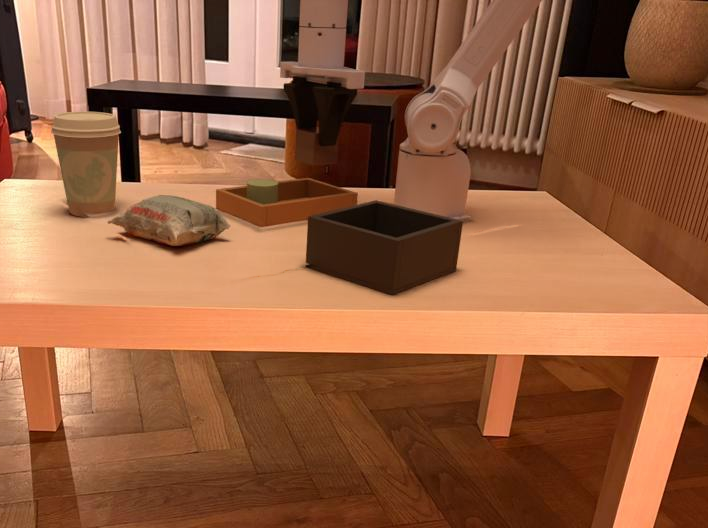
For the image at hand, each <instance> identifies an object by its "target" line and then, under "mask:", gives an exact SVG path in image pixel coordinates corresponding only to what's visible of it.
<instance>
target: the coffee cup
mask: <svg viewBox="0 0 708 528" xmlns="http://www.w3.org/2000/svg"><path fill="white" fill-rule="evenodd" d="M120 128H121V126H120V124H119V122H118V119H117V116H116V115H115V114H113V113H108V112H103V111H102V112H101V111H69V112H67V111H66V112H60V113H57V114H55V115H54V116H53V122H52V125H51V132H50V133H51V135H52V134H53V138H54V143H55V148H56V153H57V158H58V162H59V163H58V164H59V168H60V172H61V178H62V183H63V189H64V192H65V193H64V194H65V197H66V203H67V207H68V212H69V214H71V215H72V216H76V217H80V218H90V216H89V215H98V214H99V215H100V214H107V213H110V212H113V211H114V210H115V209H116V197H117V195H116V193H117V174H118V155H119V137H120V136H119V134H121V133H122V131H121V129H120Z"/></svg>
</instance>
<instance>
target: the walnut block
mask: <svg viewBox="0 0 708 528" xmlns="http://www.w3.org/2000/svg"><path fill="white" fill-rule="evenodd" d="M339 137H340V134H339V135H338V138H337V142H336V145H334V146H320V140H319V126H317V127H315V128H303V129H297V128H296V129H295V144H294V145H295V147H294V161H296V162H299V163H303V164H306V165H309V166H313V167H315V166H323V165H324V166H325V165H332V164H333V165H334V164H337V163H338V157H339V156H338V155H339V153H338V152H339V140H340V139H339Z"/></svg>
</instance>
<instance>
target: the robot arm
mask: <svg viewBox="0 0 708 528" xmlns="http://www.w3.org/2000/svg"><path fill="white" fill-rule="evenodd" d="M542 1H543V0H491V1H490V3H489V4H488V6H487V7H486V9H485V10H484V11H483V13H482V14H481V15H480V17H479V19H478V20H477V21H476V23H475V25H474V26H473V27H472V29H471V30H470V31H469V33H468V35H467V36H466V37H465V39H464V40H463V42H462V43H461V45H460V46H459V48H458V49H457V50H456V51H455V52H454V54H453V56H452V58H451V59H450V60H449V62H448V63H447V64H446V66H445V67H444V68H443V69H442V71H441V72H439V74H438V75H436V77H435V78H434V80H433V81H432V82H431V84H430V85H429V86H428V87H427V89H425V90H424V91H422V92H419V94H416V95H415V96H414V97H413V98H412V99H411V100H409V103H408V104H407V105H406V109H405V112H404V125H405V127H406V132H407V137H406V139H405V140H404V141H403V142H401V143H400V144H399V149H398V150H399V151H398V157H397V158H398V159H397V166H396V167H397V170H396V178H395V187H394V197H393V204H394V205H398V206H402V207H407V208H411V209H415V210H419V211H423V212H428V213H432V214H436V215H440V216H445V217H449V218H453V219H457V220H464V219H469V218H470V215H467V214H466V208H467V201H468V194H469V187H470V181H471V173H472V172H471V171H472V167H471V163H470V159H469V157H468V155H467V154H466V153H465V152H464V151H462V150H461V149H459V148H458V147H457V145H456V144H454V141H455V140H456V139H457V137H458V135H459V132H460V128H461V121H462V119H463V117H464V115H465V113H467V111H468V109H469V108H470V106H471V104H472V102H473V100H474V98H475V96H476V94H477V91H478V89H479V88H480V86H481V85H482V84H483V82H484V81H485V79H486V78H487V77H488V76H489V74H490V73H491V71H492V70H493V68H494V67H495V66H496V64H497V63H498V62H499V60H501V57H502V56H503V55H504V54H505V52H506V51H507V50H508V48H509V46H510V45H511V44H512V43H513V42H514V40H515V38H516V37H517V35H518V34H519V33H520V32H521V30H522V29H523V27H524V26H525V25H526V24H527V22H528V20H529V19H530V18H531V16H532V15H533V14H534V12H535V11H536V10H537V8H538V7H539V6H540V4H541V3H542ZM348 7H349V0H300V2H299V24H298V26H299V29H298V52H297V53H298V55H297V61H280V65H279V66H280V69H279V78H280V79H281V78H282V79H292V80H291V81H290V82H286V83H283V89H282V90H283V91H284V93H285V95H286V97H287V99H288V102H289V104H290V107H291V109H292V113H293V119H294V122H295V127H296V129H303V128H315V127H319V140H320V146H334V145H336V142H337V138H338V135H339V136H340V131H341V128H342V125H343V123H344V120H345V118H346V115H347V113H348V110H349V109H350V107H351V105H352V103H353V102H354V100H355V99H356V97H357V95H358V89H359V90H360V89H364V88H365V76H366V71H365V70H360V69H359V70H358V69H356V68H355V69H354V68H350V67H347V66H345V54H346V53H345V52H346V39H347V38H346V37H347V22H348ZM317 76H318V77H317ZM323 77H324V78H323ZM317 124H318V125H317Z"/></svg>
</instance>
